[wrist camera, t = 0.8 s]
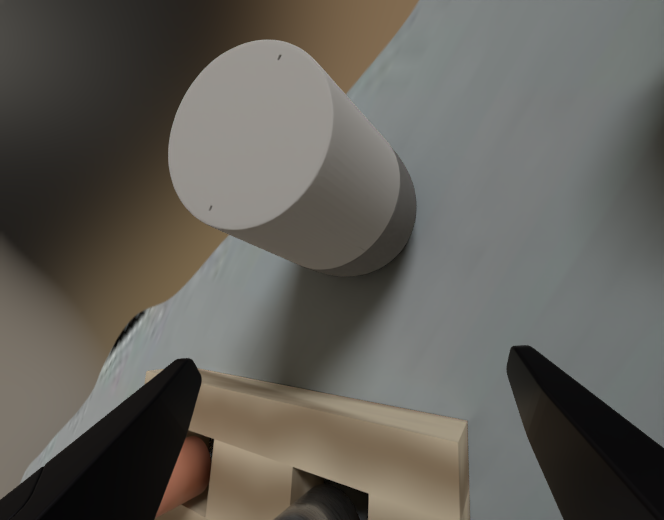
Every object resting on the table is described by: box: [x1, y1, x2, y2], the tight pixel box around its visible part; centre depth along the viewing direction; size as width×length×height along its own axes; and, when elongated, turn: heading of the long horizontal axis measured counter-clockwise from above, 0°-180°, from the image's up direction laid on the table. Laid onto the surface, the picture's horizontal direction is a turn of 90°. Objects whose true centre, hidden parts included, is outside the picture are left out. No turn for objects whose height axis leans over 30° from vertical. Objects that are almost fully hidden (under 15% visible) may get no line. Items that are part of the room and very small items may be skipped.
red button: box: [155, 436, 211, 518], centre depth 21 cm, size 4×4×6 cm
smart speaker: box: [168, 40, 416, 277], centre depth 18 cm, size 10×9×14 cm
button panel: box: [145, 368, 470, 520], centre depth 22 cm, size 12×26×4 cm, turn 87°
